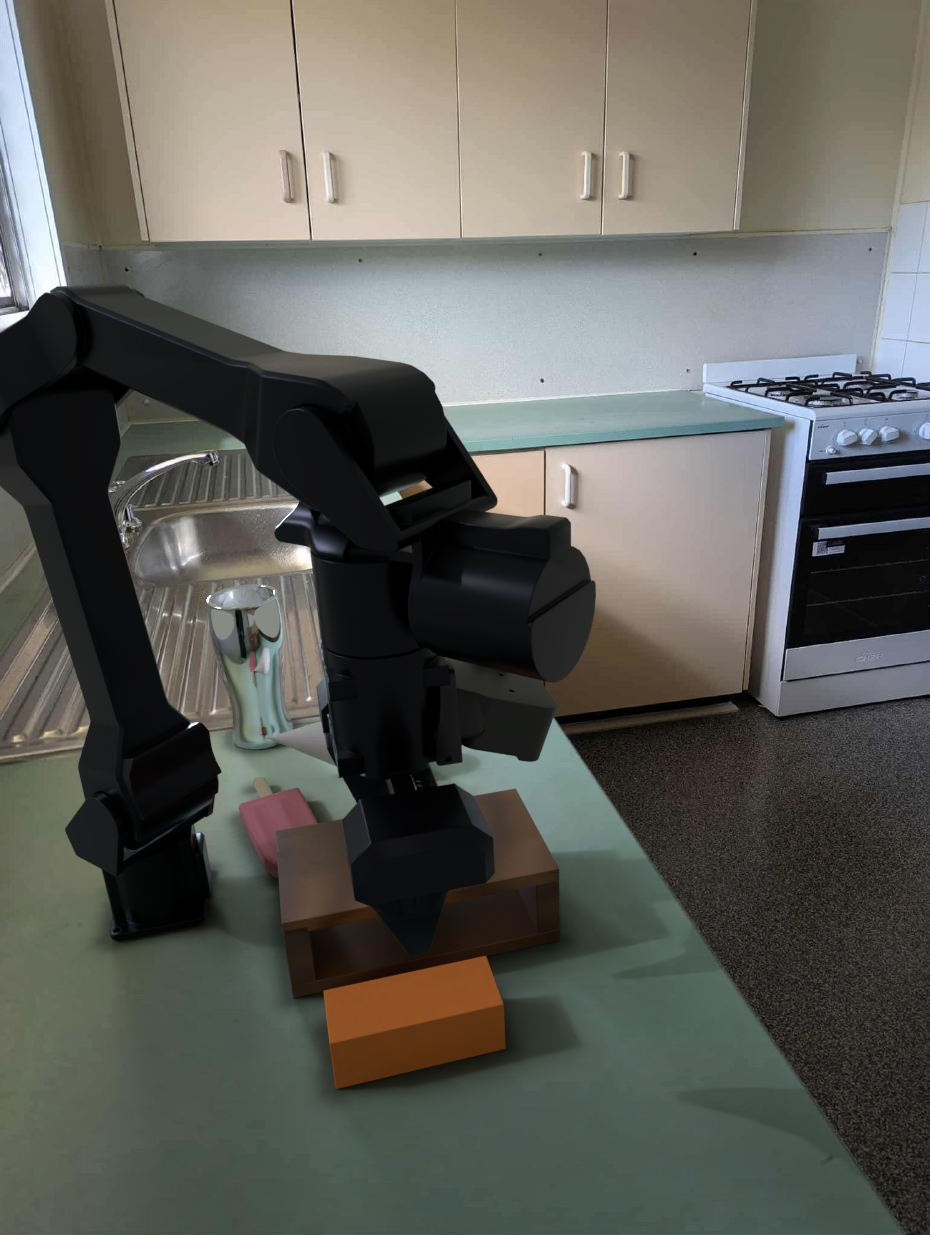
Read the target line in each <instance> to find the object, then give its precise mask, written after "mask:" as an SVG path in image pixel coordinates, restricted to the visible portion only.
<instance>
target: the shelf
mask: <svg viewBox="0 0 930 1235" xmlns="http://www.w3.org/2000/svg"><path fill="white" fill-rule="evenodd" d="M473 796H474V797H475V799H476V801H477V803H478V806H479V808H480V810H481V812H482V814H483V817H484V819H485V821H486V823H487V825H488V827H489V830H490V832H491V834H492V836H493V841H494V865H495V873H494V874H493V876H492V877H491V878H490V879H489V880H488V881H487V882H486V883H484V884H479V885H474V886H469V887H464V888H459V889H454V890H449V891H448V894H447V896H446V899H445V902H444V905H443V908H442V912H441V915H440V918H439V922H438V925H437V929H436V932H435V936H434V939H433V943H432V946H431V949H430V951H429V952H428V953H425V954H420V955H415V956H409V955H408V954H407V952H406V951H405V950H404V948H403V947H402V946H401V944H400V943H399V942H398V940H397V939H396V938H395V936H394V935H393V934H392V932H391V931H390V930H389V928H388V927H387V926H386V924H385V923H384V922H383V921H382V920H381V918H380V917H379V916H378V914H377V913H376V912H375V911H374V910H373V909H372V907H371V906H368V905H365V904H363V903H360V902H358V901H355V899H354V894H353V888H352V883H351V878H350V872H349V867H348V861H347V855H346V848H345V841H344V833H343V824H342V820H343V818H340V819H334V820H329V821H322V822H318V823H317V824H311V825H306V826H300V827H294V828H289V829H283V830H277V831H275V833H276V848H277V864H278V879H277V880H278V894H279V908H280V926H281V930H282V937H283V943H284V949H285V950H284V951H285V955H286V962H287V968H288V975H289V981H290V987H291V994H292V998H293V999H295V998H300V997H305V996H310V995H315V994H319V993H324V990H329V989H333V988H338V987H343V986H347V985H352V984H357V983H361V982H366V981H371V980H375V979H380V978H385V977H389V976H394V975H398V974H403V973H408V972H412V971H417V970H422V969H426V968H431V967H436V966H440V965H445V964H450V963H454V962H459V961H464V960H468V959H473V958H478V957H482V956H486V957H487V958H488V957H490V956H495V955H501V954H505V953H509V952H515V951H518V950H523V949H528V948H533V947H537V946H543V945H547V944H551V943H556V942H560V941H561V929H560V928H561V923H560V922H561V920H560V915H561V913H560V912H561V910H560V909H561V908H560V904H561V903H560V867H559V866H558V864H557V862H556V860H555V858H554V856H553V854H552V852H551V851H550V848H549V847H548V845H547V843H546V841H545V840H544V837H543V836H542V834H541V833H540V830H539V829H538V827H537V825H536V823H535V821H534V819H533V818H532V816H531V814H530V812H529V810H528V808H527V807H526V804H525V803H524V800H523V799H522V797H521V795H520V794H519V792H518V790H517V788H510V789H504V790H500V791H499V790H498V791H493V792H487V793H481V794H476V795H473Z"/></svg>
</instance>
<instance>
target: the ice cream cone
mask: <svg viewBox="0 0 930 1235" xmlns="http://www.w3.org/2000/svg"><path fill="white" fill-rule="evenodd" d="M267 738H268V739H271V740H273V741H276V742H278V743H280V744H279V745H283V746H286V747H288V748H290V749H292V750H295V751H298V752H299V753H303V754H305V755H306V756H307V755H308V756H309V757H311V758H313V759H314V758H315V759H317V760H319V761H322V762H324V763H327V764H329V765H331V766H334V767H336V765H335V763H334V761H333V759H332V758H331V756H330V754H329V752H328V750H327V745H326V740H325V735H324V733H323V729H322V724H321V720H320V721H317V722H313V723H311V724H307V725H304V726H303V725H302V726H300V727H297V728H294V729H293V730H290V731H287V732H284V733H280V734H277V735H274V736H270V737H267Z"/></svg>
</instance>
